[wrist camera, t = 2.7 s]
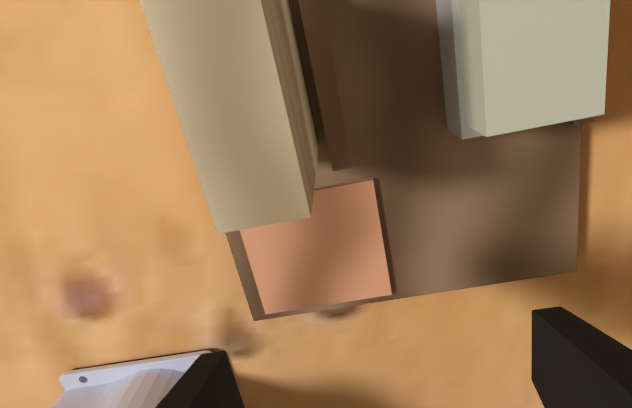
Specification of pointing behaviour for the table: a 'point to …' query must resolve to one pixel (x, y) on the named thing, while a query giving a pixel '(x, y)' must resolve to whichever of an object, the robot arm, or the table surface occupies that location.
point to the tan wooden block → (240, 105)
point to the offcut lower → (452, 69)
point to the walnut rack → (406, 177)
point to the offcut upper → (532, 62)
